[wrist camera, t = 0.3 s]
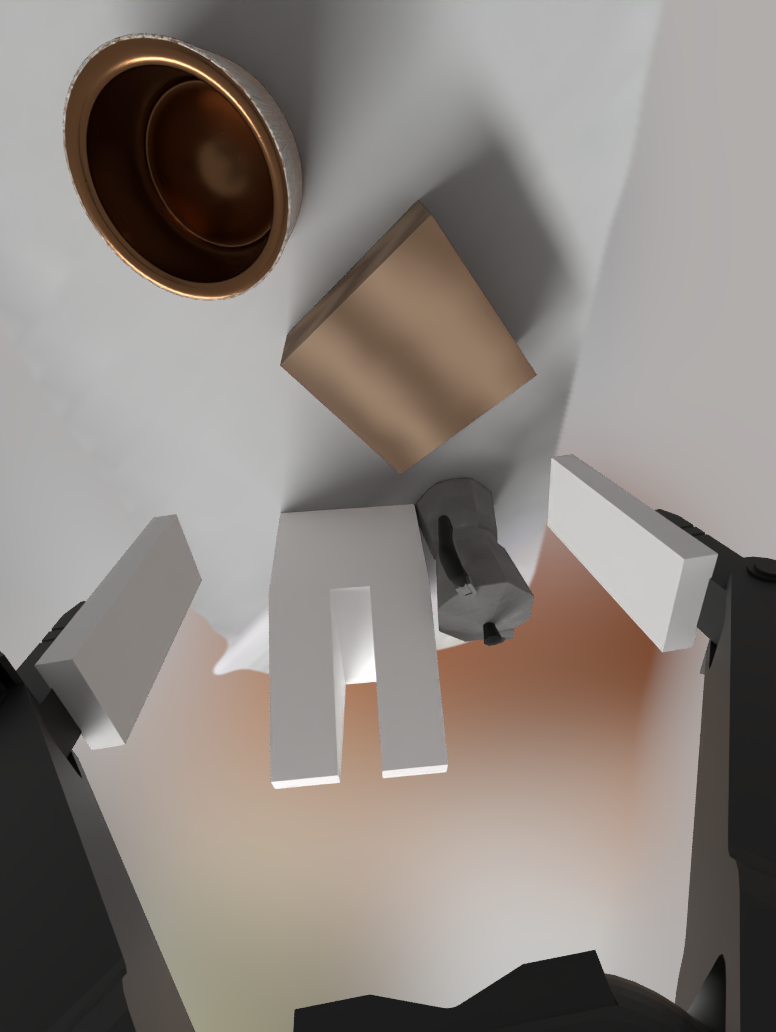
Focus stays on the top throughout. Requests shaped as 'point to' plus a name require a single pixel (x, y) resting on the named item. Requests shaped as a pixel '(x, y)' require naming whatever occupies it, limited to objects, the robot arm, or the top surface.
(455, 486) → the coffeepot
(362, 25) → the top surface
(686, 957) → the robot arm
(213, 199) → the planter
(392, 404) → the plinth
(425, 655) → the white slotted block
